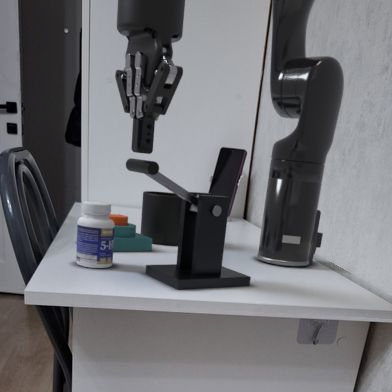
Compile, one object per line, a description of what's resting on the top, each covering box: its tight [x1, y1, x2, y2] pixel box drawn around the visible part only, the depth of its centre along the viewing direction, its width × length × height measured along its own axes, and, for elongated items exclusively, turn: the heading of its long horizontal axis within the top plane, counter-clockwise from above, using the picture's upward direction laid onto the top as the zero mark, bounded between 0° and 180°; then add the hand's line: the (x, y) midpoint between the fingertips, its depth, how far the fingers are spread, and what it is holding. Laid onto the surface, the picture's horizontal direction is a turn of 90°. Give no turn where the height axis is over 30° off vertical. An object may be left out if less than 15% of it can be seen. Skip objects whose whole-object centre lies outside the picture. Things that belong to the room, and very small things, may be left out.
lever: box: [125, 157, 199, 215], centre depth 71 cm, size 13×6×2 cm, turn 120°
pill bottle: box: [75, 200, 114, 269], centre depth 79 cm, size 5×5×9 cm
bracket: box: [145, 191, 252, 290], centre depth 75 cm, size 12×9×12 cm
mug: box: [140, 190, 182, 246], centre depth 107 cm, size 9×12×9 cm
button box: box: [113, 222, 153, 252], centre depth 96 cm, size 10×8×4 cm
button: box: [109, 213, 129, 226], centre depth 95 cm, size 4×4×2 cm
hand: (141, 152), depth 67 cm, fingers closed
